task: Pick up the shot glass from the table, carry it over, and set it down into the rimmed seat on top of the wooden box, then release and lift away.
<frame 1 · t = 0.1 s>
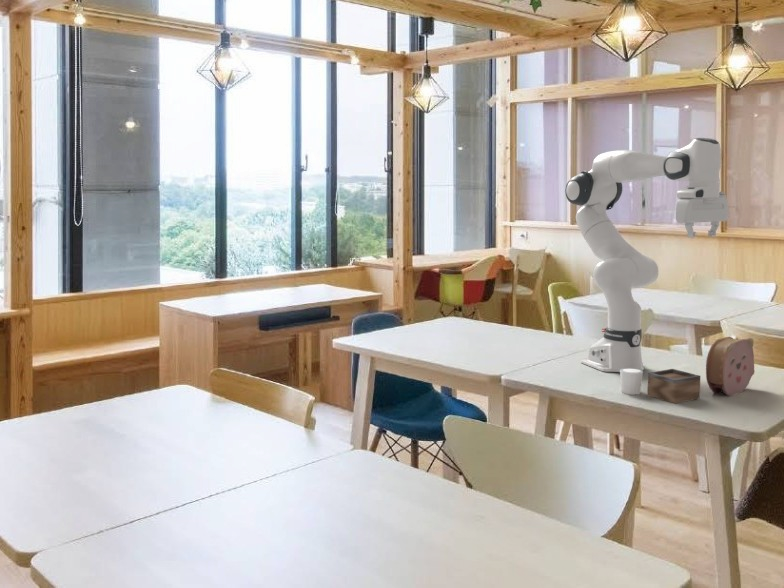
hand: (701, 236, 249), 48 cm above the table, fingers open, 8 cm apart
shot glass: (630, 392, 251), on the table
wooden box: (673, 396, 246), on the table
face sculpture: (729, 391, 252), on the table
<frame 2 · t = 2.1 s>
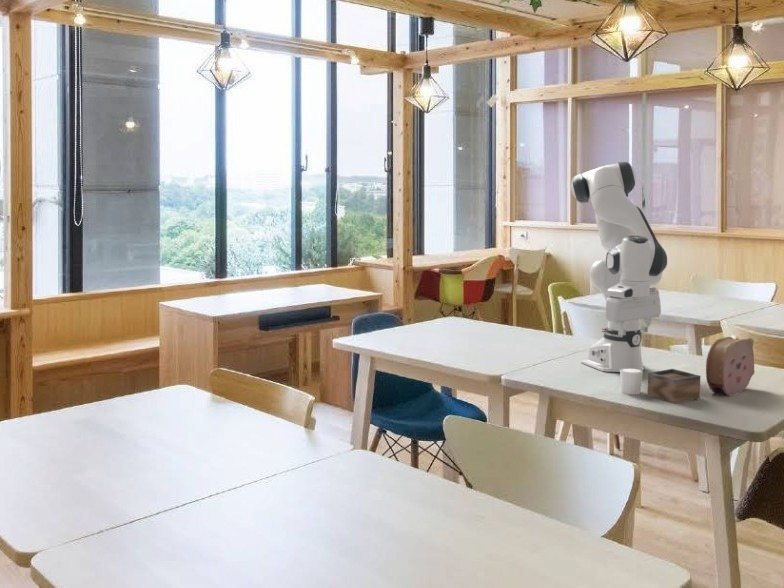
hand: (633, 333, 249), 18 cm above the table, fingers open, 8 cm apart
nothing on the table moved.
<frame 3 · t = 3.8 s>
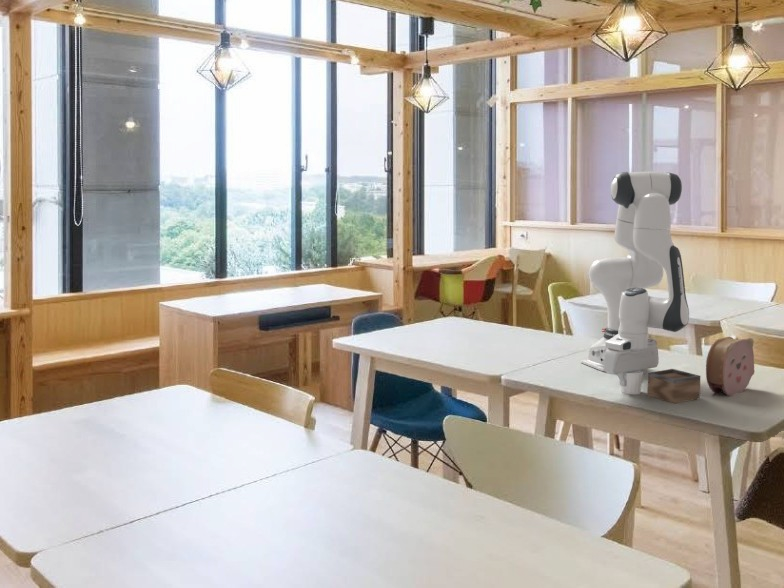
hand: (631, 384, 251), 2 cm above the table, fingers closed on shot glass, 5 cm apart
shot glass: (630, 392, 251), on the table, touching gripper
everything else where it was.
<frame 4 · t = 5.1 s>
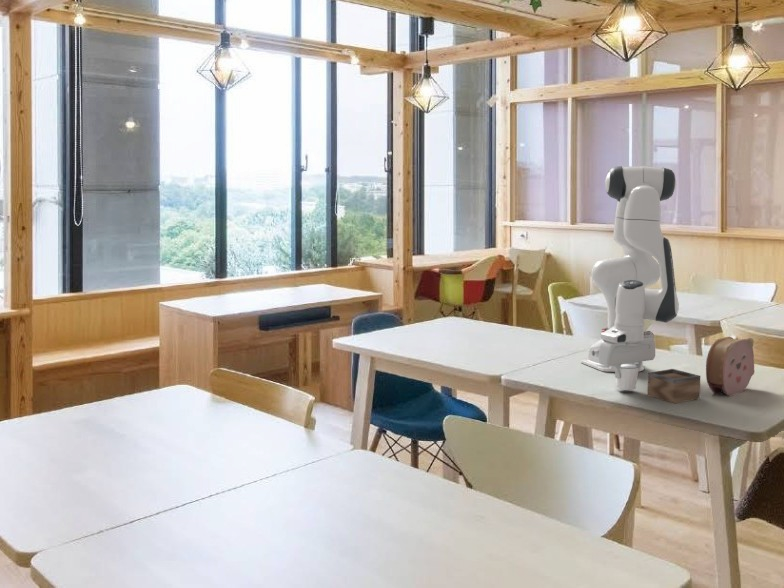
hand: (626, 376, 252), 5 cm above the table, fingers closed on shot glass, 5 cm apart
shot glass: (626, 388, 252), point 1 cm above the table, touching gripper
everything else where it was.
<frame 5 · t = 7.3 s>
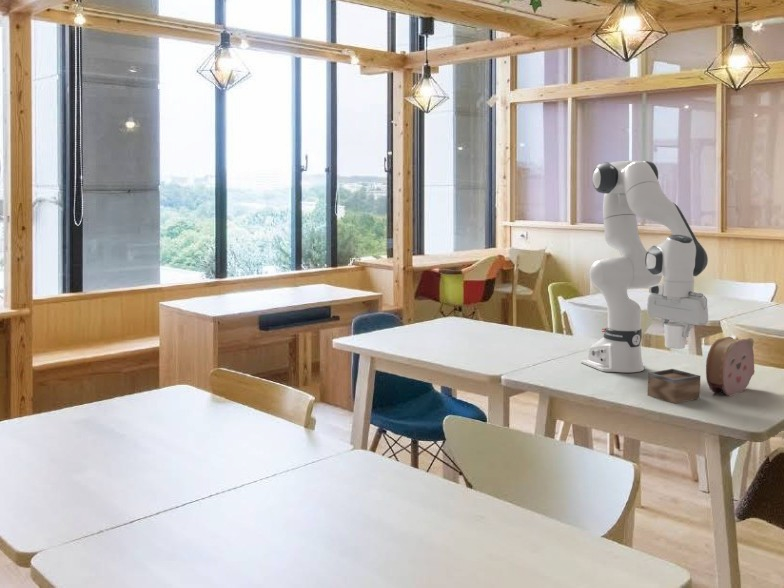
hand: (675, 335, 243), 19 cm above the table, fingers closed on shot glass, 5 cm apart
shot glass: (674, 347, 244), point 15 cm above the table, touching gripper
everything else where it was.
when the fingers open (10 cm above the table, at t = 9.5 s): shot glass stays where it is, resting on wooden box.
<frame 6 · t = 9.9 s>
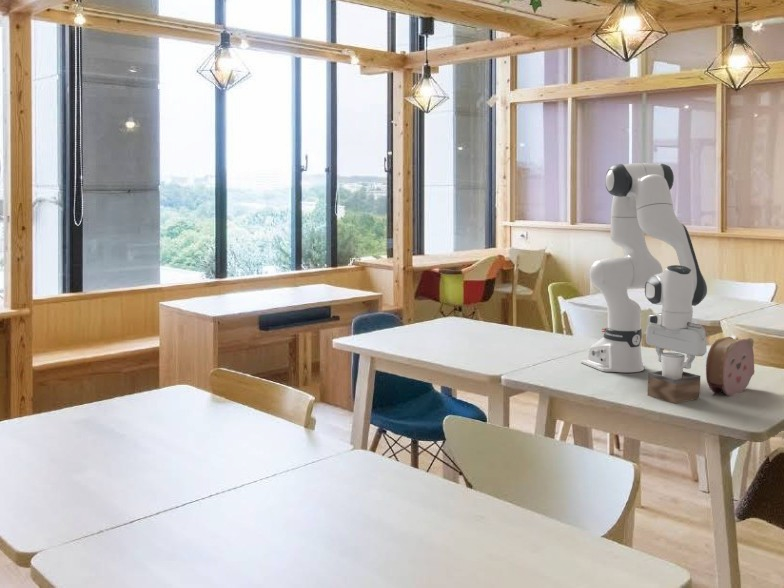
hand: (674, 365, 244), 10 cm above the table, fingers open, 8 cm apart
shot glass: (671, 377, 245), point 6 cm above the table, touching wooden box, gripper
everything else where it was.
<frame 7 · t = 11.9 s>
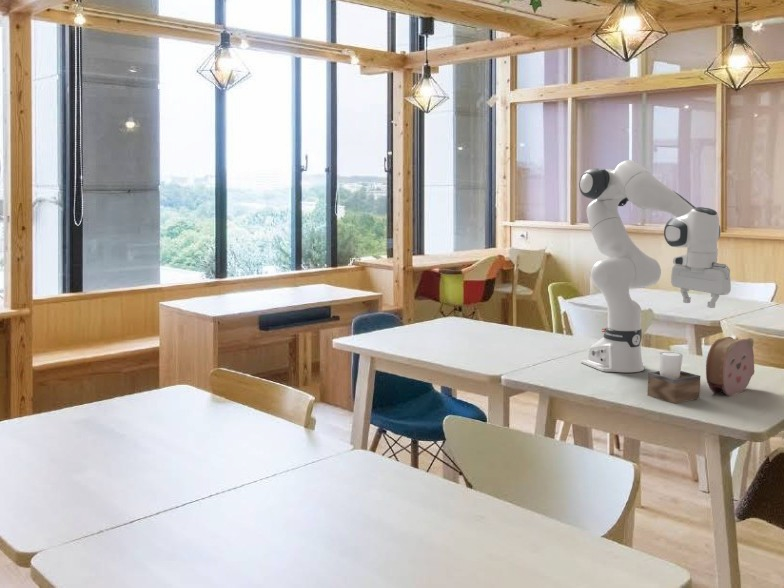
hand: (698, 305, 250), 27 cm above the table, fingers open, 8 cm apart
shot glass: (669, 377, 246), point 6 cm above the table, touching wooden box
everything else where it was.
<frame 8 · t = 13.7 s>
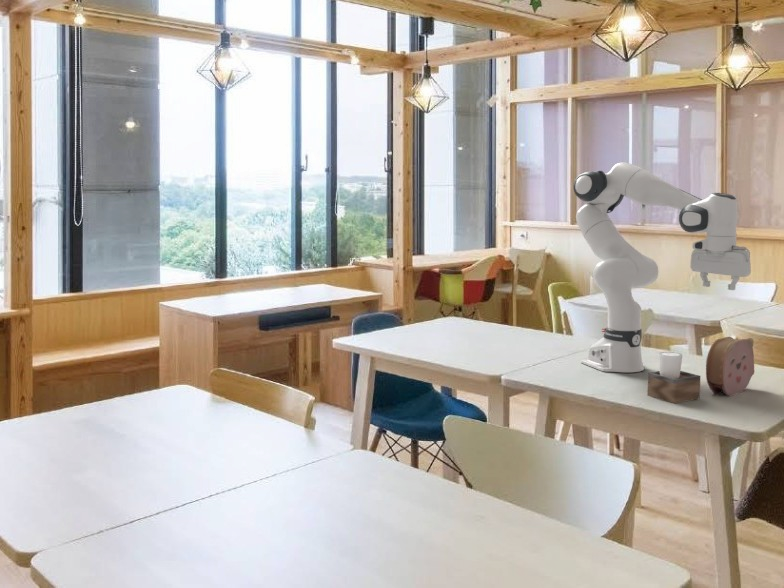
hand: (718, 288, 257), 31 cm above the table, fingers open, 8 cm apart
nothing on the table moved.
at the end: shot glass 1.6 cm off-centre on the wooden box, point 5.8 cm above the wooden box's base; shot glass tilted 0°; the gripper is holding nothing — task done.
